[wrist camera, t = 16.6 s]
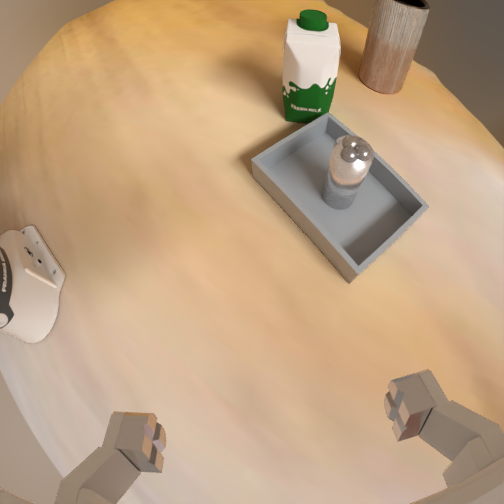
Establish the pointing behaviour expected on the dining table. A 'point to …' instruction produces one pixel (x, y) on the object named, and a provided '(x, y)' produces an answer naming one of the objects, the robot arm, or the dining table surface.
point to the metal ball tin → (346, 171)
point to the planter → (392, 43)
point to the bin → (323, 216)
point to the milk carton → (309, 66)
